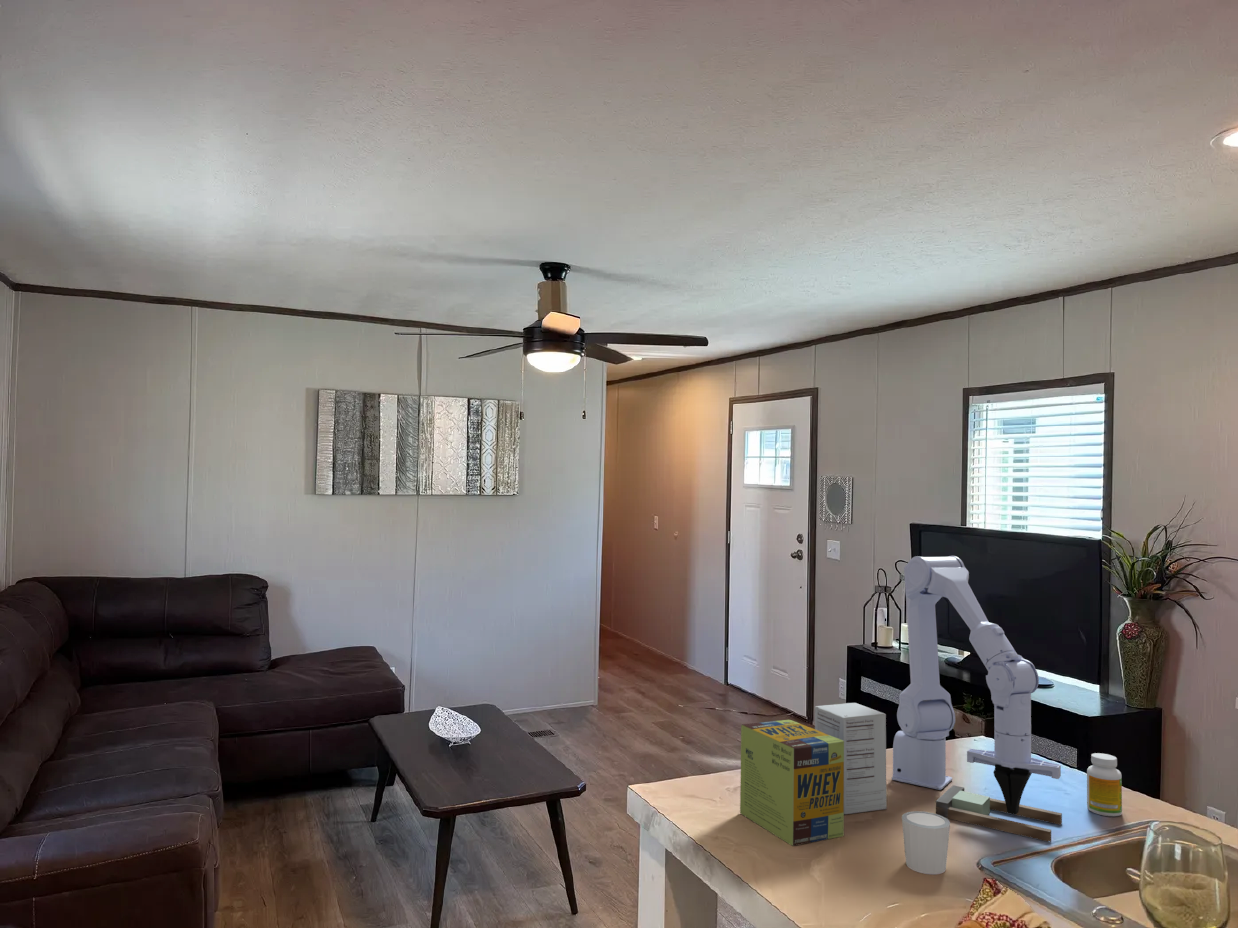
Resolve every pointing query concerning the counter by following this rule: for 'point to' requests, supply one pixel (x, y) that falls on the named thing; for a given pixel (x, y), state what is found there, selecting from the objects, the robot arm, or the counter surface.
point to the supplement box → (858, 752)
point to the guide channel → (996, 823)
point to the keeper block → (971, 802)
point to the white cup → (925, 841)
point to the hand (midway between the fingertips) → (1012, 811)
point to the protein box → (792, 781)
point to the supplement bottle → (1104, 786)
